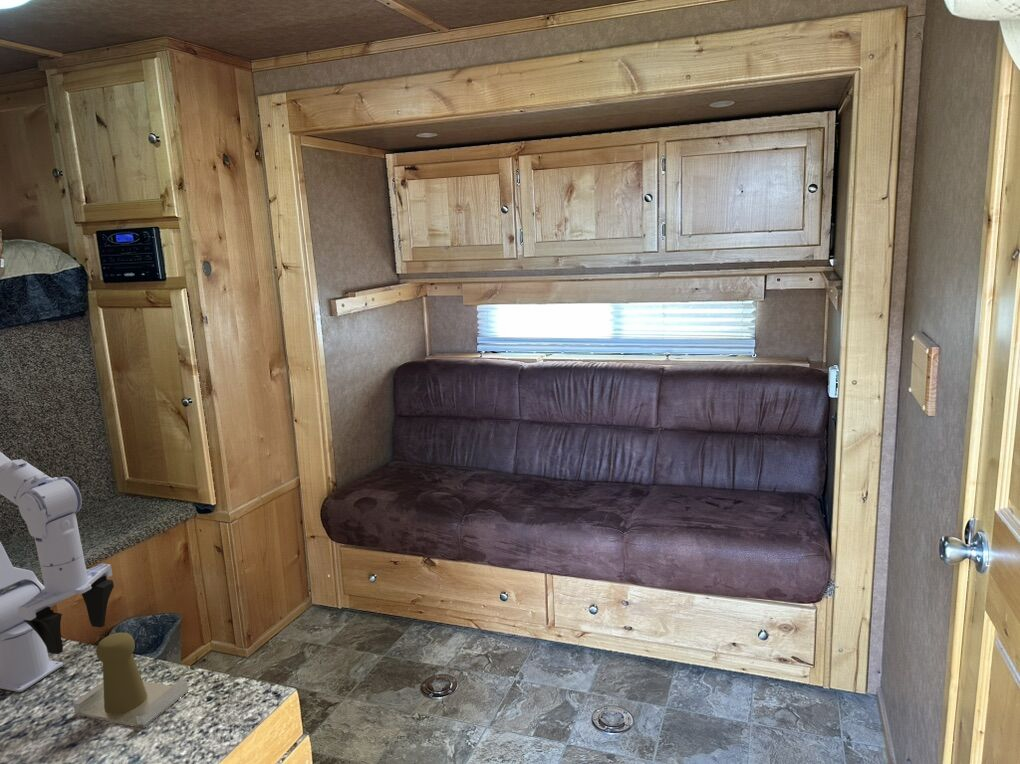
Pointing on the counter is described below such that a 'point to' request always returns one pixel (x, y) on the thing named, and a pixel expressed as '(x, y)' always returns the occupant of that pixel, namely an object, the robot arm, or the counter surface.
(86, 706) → the bottom track
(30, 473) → the robot arm
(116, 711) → the brown rounded piece
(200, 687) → the counter surface
